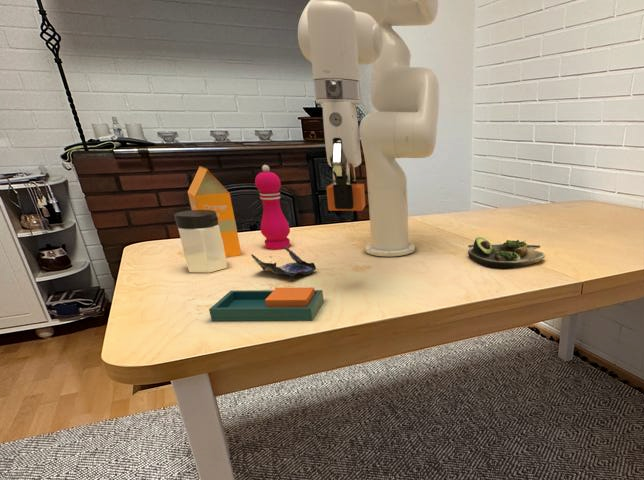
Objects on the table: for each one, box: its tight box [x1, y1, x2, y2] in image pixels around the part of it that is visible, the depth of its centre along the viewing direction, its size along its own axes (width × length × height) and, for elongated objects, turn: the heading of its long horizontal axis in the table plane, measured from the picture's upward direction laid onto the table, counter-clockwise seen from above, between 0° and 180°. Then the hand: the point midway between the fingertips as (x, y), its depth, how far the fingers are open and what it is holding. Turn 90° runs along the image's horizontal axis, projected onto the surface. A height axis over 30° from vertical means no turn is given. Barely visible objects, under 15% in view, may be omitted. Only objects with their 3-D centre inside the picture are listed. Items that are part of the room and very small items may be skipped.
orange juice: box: [187, 165, 242, 258], centre depth 112 cm, size 8×9×20 cm
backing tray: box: [208, 289, 325, 322], centre depth 82 cm, size 10×17×2 cm, turn 92°
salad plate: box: [467, 236, 546, 269], centre depth 114 cm, size 19×18×5 cm
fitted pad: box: [265, 286, 316, 307], centre depth 81 cm, size 7×7×2 cm
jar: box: [173, 209, 228, 274], centre depth 103 cm, size 9×8×12 cm
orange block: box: [325, 183, 366, 212], centre depth 86 cm, size 6×6×4 cm
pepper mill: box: [254, 164, 291, 250], centre depth 119 cm, size 7×7×20 cm
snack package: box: [250, 245, 317, 281], centre depth 100 cm, size 12×6×12 cm
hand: (346, 204), depth 86 cm, fingers closed on orange block, 6 cm apart
